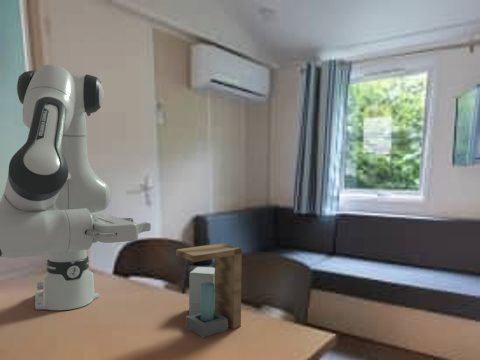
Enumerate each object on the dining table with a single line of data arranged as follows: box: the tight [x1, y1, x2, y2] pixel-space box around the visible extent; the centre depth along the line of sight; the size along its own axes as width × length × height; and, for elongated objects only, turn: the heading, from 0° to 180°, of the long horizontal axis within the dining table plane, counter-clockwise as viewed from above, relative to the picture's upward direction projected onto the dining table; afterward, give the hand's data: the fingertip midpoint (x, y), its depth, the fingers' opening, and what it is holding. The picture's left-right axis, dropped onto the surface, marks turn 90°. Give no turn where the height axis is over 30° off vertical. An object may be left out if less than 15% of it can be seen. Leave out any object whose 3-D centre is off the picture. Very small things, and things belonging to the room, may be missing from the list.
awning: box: [175, 242, 243, 330], centre depth 103 cm, size 9×15×22 cm, turn 129°
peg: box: [201, 282, 214, 323], centre depth 103 cm, size 4×4×12 cm
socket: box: [186, 311, 229, 339], centre depth 103 cm, size 8×8×3 cm
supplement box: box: [188, 266, 215, 316], centre depth 115 cm, size 7×7×13 cm
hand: (140, 223), depth 90 cm, fingers open, 8 cm apart
